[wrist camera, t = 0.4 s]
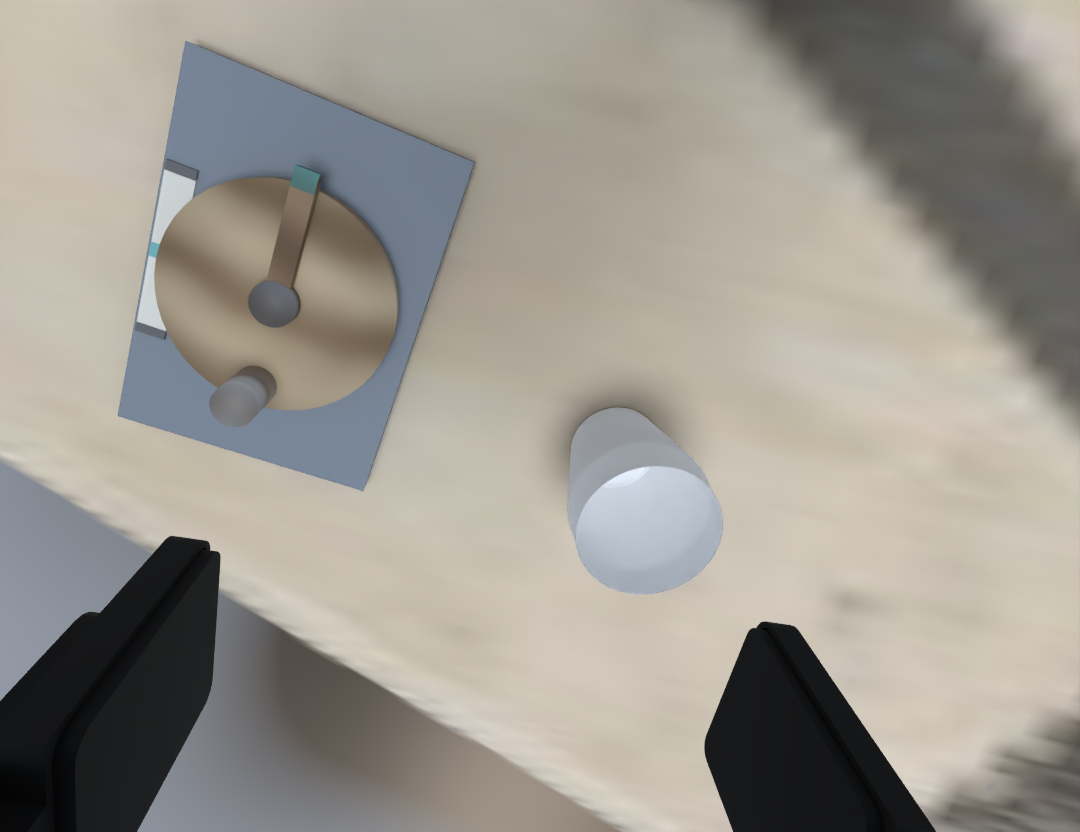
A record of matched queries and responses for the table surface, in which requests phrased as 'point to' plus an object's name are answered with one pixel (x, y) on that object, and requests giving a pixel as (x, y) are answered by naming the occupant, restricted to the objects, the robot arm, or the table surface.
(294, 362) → the crank wheel
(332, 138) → the blue-grey base board
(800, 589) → the table surface
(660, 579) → the cup
